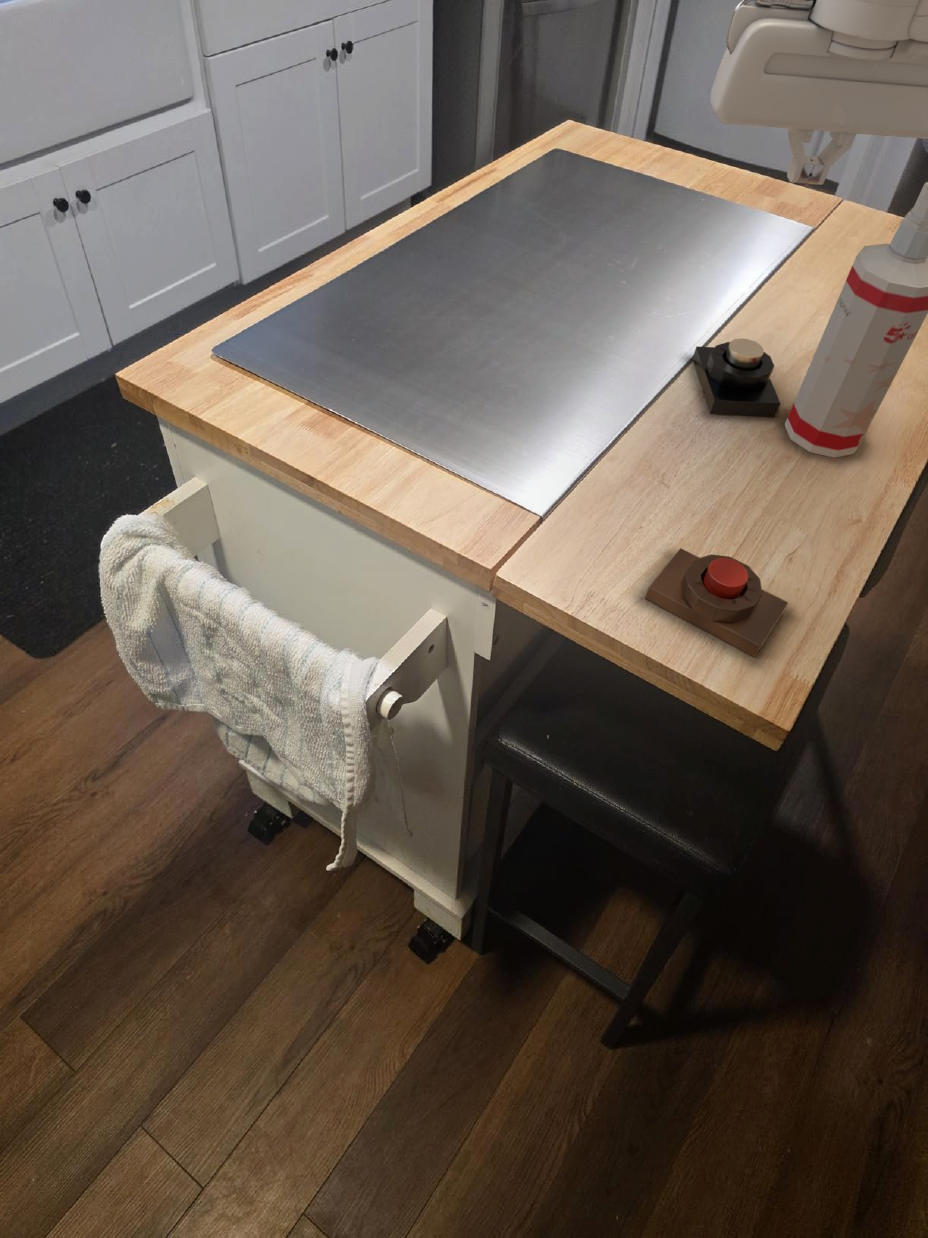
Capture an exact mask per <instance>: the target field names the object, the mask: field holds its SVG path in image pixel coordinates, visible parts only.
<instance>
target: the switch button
mask: <svg viewBox="0 0 928 1238" xmlns="http://www.w3.org/2000/svg"><path fill="white" fill-rule="evenodd" d="M729 342H730V343H729V346H728V349H727V352H726V355H725V358H724V360H725V362H726V363H727V364H728V365H730V366H731V367H733V368H736V369H739V370H744V371H754V370H756V369H757V368H758V366H759V364H760V361H761V358H762V356H763V353H764V352H765V351H764V347H763V346H762V345H761V344H760V343H758V342H756V341H754V340H753V339H749V338H743V337H742V338H735V339H732V340H731V341H729Z"/></svg>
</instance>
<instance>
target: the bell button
mask: <svg viewBox="0 0 928 1238" xmlns="http://www.w3.org/2000/svg"><path fill="white" fill-rule="evenodd" d="M747 580H748V573H747V570H746V569H745V567H744V566H743V565H741V564H740V563H739V562H737V561H735V560H732V559H728V558H719V559H716V560H714V561H712V562H711V563H710V565H709V567H708V569H707V572H706V574H705V577H704V585H705V587H706V589H707V590H708V591H709V592H710V593H712V594H713V595H715V596H717V597H719V598H723V599H733V598H736V597H738V596H739V595H740V594H741V593H742V591H743V589H744V587H745V584H746V582H747Z"/></svg>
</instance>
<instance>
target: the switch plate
mask: <svg viewBox="0 0 928 1238" xmlns="http://www.w3.org/2000/svg"><path fill="white" fill-rule="evenodd" d="M730 342H731V341H725V342H723V343H720V344H717V345H715V346H699V345H698V346H695V349H694V352H693V356H692V358H691V359H692V363H693V366H694V369H695V372H696V375H697V378H698V381H699V384H700V387H701V391H702V393H703V396H704V399H705V403H706V406H707V408H708V411H709V414H710V415H726V416H727V415H729V416H745V417H746V416H747V417H748V416H750V417H768V418H769V417H770V418H776V416H777V414H778V412H779V409H780V407H781V401H780V399H779V396H778V394H777V392H776V389H775V386H774V384H773V382H772V380H771V376H772V373H773V370H774V369H775V364H774V362H773V359H772V357H771V356H770V355H769V354H768V353H766V352H765V351H764V353H763V356H762V358H761V361H760V364H759V366H758V368H757V369H756V370H754V371H744V370H739V369H736V368H733V367H731V366H730V365H728V364H727V363H726V362H725V360H724V358H725V355H726V352H727V349H728V346H729V343H730Z"/></svg>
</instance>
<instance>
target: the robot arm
mask: <svg viewBox="0 0 928 1238" xmlns="http://www.w3.org/2000/svg"><path fill="white" fill-rule="evenodd" d="M752 1H754V3H750V2H752ZM725 37H726V40H725V43H726V48H725V51H724V53H723V56H722V59H721V61H720V64H719V66H718V69H717V72H716V75H715V78H714V81H713V84H712V87H711V91H710V95H709V101H710V105H711V108H712V111H713V112H714V114H715V116H716V117H717V119H718V120H719V122H720V123H722V124H724V125H736V126H737V125H738V126H751V127H763V128H775V129H788V131H787V136H788V142H789V147H790V152H791V156H792V157H791V160H790V163H789V165H788V169H787V173H786V178H787V179H788V181H789V183H793V184H795V183H796V184H807V185H808V184H810V185H821V186H822V185H823V184H824V183H825V181H826V178H827V176H828V174H829V171H830V169H831V166H833V165H834V164H835V163H836V162H837V161H838V160H839V159H840V158H842V157H843V155H845V153H846V152H848V150H850V149H851V148H852V146H853V143H854V140H855V138H856V136H857V135H868V136H869V135H870V136H881V137H883V136H885V137H895V138H896V137H897V138H910V139H921V140H922V139H924V140H928V0H740V1H739V2H738V4H736V6H735V7H734V9H733V11H732V14H731V17H730V21H729V25H728V28H727V32H726V36H725ZM816 131H817V132H828V133H829V136H830V137H831V140H830V142H829V143H828V144H827V145H826V146H825V147H824V148H823V149H822V151H821V152H820V153H818V155H815V156H814V155H805V148H804V144H810V143H811V140H812V137H813V135H814V133H815V132H816Z"/></svg>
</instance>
